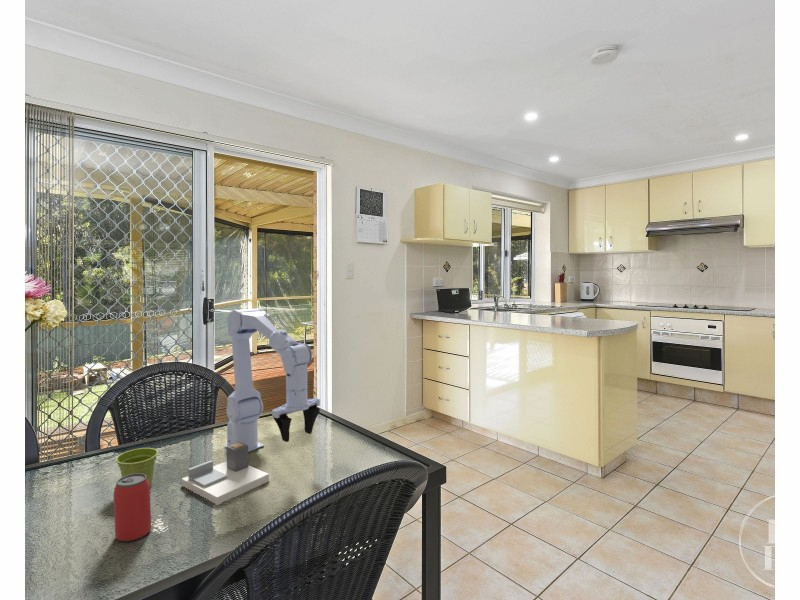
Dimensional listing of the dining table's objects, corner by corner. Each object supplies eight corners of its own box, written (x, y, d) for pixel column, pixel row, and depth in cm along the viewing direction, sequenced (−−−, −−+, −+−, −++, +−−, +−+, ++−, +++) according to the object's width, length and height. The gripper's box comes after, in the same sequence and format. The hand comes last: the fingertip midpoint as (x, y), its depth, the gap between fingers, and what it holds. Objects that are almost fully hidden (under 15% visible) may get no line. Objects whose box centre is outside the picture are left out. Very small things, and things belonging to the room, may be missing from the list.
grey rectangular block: (226, 468, 122) (226, 445, 121) (239, 462, 125) (239, 441, 125) (235, 472, 119) (235, 449, 119) (248, 466, 123) (248, 444, 122)
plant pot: (167, 482, 118) (166, 450, 117) (136, 500, 109) (134, 465, 108) (140, 477, 121) (139, 445, 120) (107, 493, 112) (106, 459, 111)
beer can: (125, 525, 98) (123, 472, 97) (156, 524, 99) (155, 471, 98) (108, 544, 91) (106, 487, 91) (142, 542, 92) (140, 486, 91)
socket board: (181, 486, 116) (181, 478, 116) (232, 465, 128) (232, 458, 128) (217, 505, 106) (217, 497, 106) (268, 481, 119) (268, 473, 119)
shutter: (188, 478, 115) (187, 468, 115) (211, 469, 120) (210, 460, 120) (204, 487, 111) (204, 476, 111) (227, 477, 116) (227, 467, 116)
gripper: (282, 397, 114) (283, 448, 115) (326, 386, 125) (327, 433, 126) (267, 391, 119) (268, 441, 120) (311, 381, 130) (311, 427, 131)
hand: (297, 436), depth 124 cm, fingers open, 7 cm apart
